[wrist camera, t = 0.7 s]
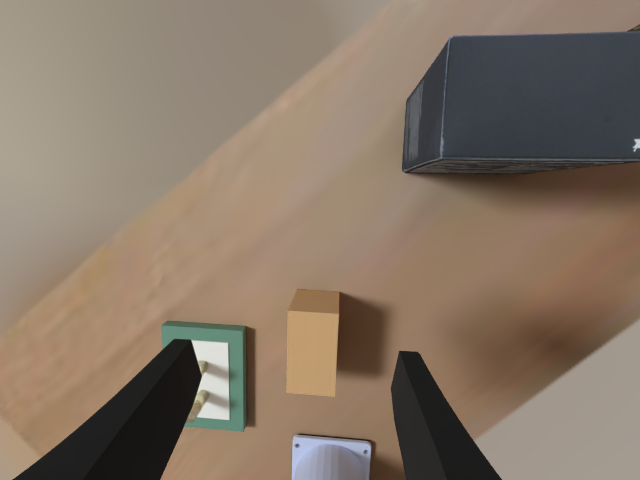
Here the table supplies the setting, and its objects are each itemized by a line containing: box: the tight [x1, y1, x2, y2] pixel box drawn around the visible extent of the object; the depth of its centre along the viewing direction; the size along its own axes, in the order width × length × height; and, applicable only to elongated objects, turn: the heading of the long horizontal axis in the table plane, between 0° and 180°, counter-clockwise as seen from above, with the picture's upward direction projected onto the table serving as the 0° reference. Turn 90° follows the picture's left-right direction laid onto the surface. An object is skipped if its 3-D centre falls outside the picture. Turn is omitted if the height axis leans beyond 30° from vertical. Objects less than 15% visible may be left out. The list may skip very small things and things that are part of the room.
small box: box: [402, 31, 640, 174], centre depth 20 cm, size 11×6×10 cm, turn 89°
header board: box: [161, 321, 247, 432], centre depth 28 cm, size 11×8×4 cm
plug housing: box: [286, 289, 339, 397], centre depth 26 cm, size 7×4×5 cm, turn 178°
